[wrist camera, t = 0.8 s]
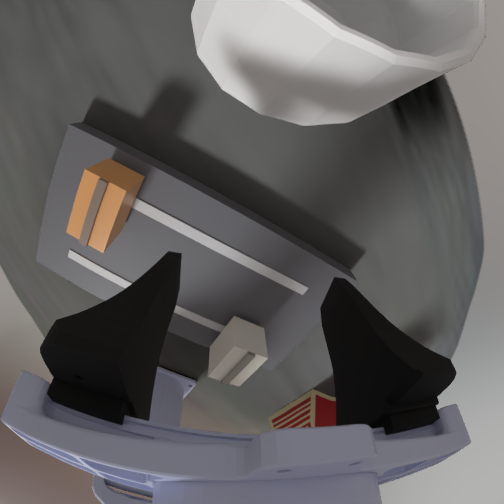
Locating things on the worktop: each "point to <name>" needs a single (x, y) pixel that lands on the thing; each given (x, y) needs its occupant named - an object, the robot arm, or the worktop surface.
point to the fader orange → (103, 203)
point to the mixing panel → (189, 250)
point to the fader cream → (237, 352)
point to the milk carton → (306, 412)
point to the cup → (332, 51)
